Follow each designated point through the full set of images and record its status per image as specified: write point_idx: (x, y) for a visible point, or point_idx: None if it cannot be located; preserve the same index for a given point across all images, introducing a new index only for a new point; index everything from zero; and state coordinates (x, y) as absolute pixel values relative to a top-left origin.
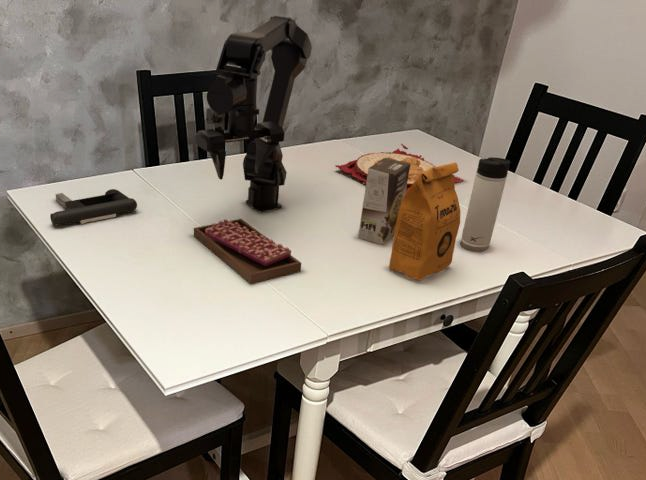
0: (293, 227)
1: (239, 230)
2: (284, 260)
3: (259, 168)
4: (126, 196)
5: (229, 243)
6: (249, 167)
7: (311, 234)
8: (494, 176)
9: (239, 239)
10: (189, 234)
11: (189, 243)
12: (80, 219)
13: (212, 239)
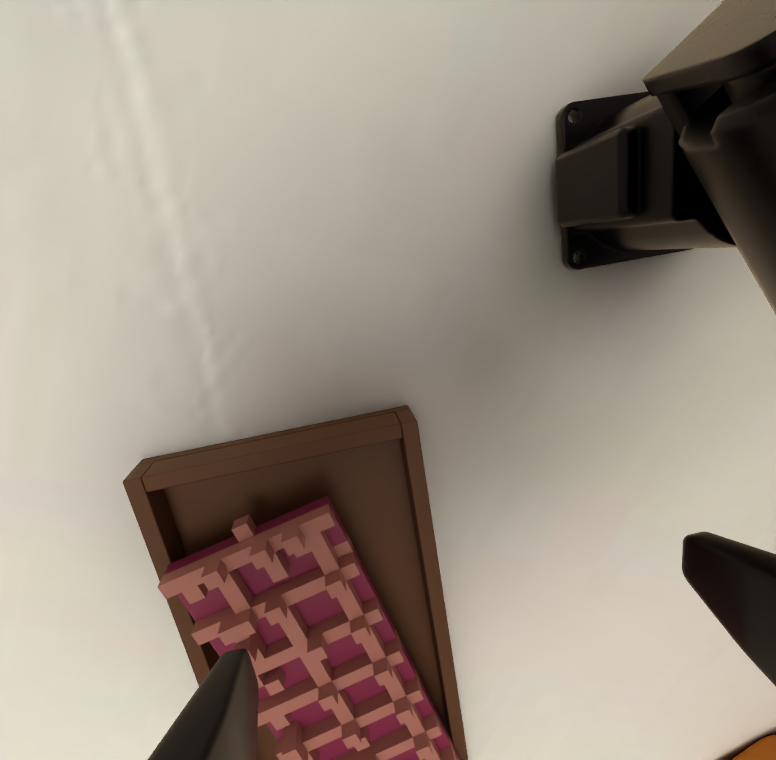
0: (621, 458)
1: (323, 657)
2: (443, 721)
3: (738, 641)
4: None
5: None
6: (747, 184)
7: (648, 529)
8: None
9: (300, 703)
10: (124, 432)
11: (105, 523)
12: None
13: (221, 531)
